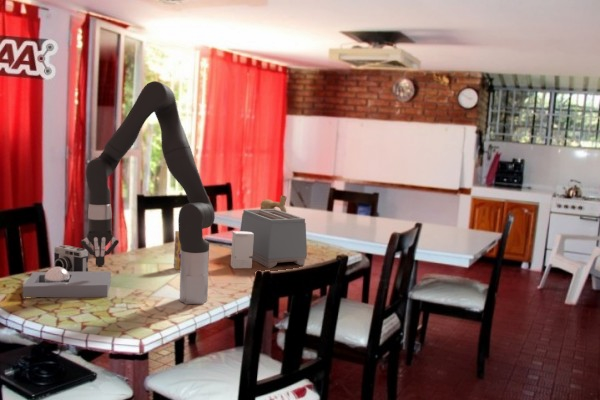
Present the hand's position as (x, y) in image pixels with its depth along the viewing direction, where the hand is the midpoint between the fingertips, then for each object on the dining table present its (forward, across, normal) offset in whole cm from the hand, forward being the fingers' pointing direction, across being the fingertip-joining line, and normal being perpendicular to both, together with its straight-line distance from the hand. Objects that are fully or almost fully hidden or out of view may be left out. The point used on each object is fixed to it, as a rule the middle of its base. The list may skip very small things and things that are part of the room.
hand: (100, 266), depth 201 cm
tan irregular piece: (+8, +78, +78) cm, 110 cm away
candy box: (+8, +31, +28) cm, 43 cm away
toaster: (+9, +70, +45) cm, 83 cm away
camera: (+8, -13, +24) cm, 28 cm away
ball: (+4, -14, +1) cm, 15 cm away
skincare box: (+9, +54, +29) cm, 62 cm away
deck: (+8, -10, +1) cm, 13 cm away
